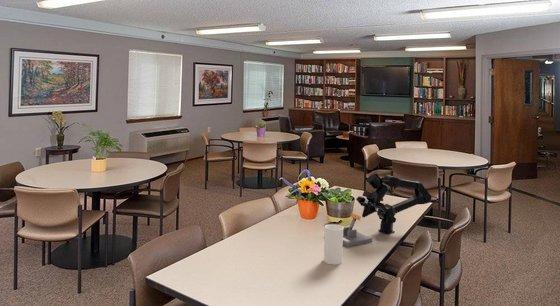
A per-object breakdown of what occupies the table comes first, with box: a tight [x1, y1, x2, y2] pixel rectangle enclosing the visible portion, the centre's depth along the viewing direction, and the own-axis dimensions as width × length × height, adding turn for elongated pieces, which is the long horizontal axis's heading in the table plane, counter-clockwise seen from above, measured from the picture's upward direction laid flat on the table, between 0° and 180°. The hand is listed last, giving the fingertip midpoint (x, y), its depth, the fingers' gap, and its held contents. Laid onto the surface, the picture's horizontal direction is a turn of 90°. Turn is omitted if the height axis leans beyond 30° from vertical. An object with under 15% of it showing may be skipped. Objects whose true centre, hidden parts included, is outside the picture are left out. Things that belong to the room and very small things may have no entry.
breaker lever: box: [347, 213, 362, 232], centre depth 224 cm, size 2×5×11 cm, turn 32°
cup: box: [323, 223, 344, 266], centre depth 193 cm, size 8×8×16 cm
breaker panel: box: [343, 226, 373, 248], centre depth 223 cm, size 16×18×6 cm
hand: (362, 216), depth 228 cm, fingers closed
